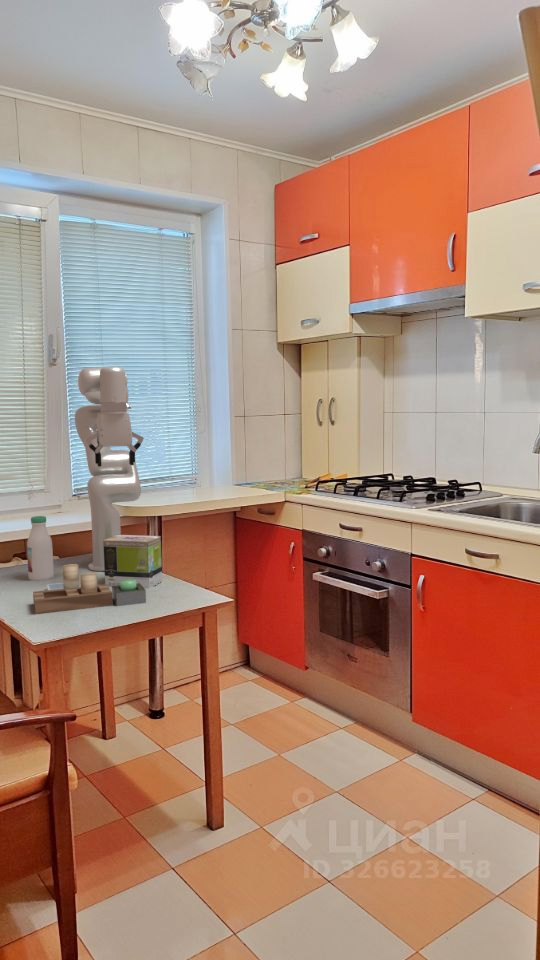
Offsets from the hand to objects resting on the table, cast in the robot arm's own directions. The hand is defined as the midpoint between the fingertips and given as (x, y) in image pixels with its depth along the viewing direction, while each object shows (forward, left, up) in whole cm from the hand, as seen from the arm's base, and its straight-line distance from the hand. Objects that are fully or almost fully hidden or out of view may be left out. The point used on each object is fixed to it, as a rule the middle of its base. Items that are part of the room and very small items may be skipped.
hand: (115, 465), depth 212 cm
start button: (+21, -1, -34) cm, 40 cm away
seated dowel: (+19, -11, -36) cm, 43 cm away
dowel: (+6, -15, -36) cm, 40 cm away
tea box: (+2, +4, -37) cm, 37 cm away
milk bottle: (-17, -22, -37) cm, 46 cm away
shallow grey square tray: (+6, -15, -37) cm, 40 cm away
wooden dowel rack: (+19, -16, -37) cm, 44 cm away
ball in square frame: (+21, -1, -37) cm, 42 cm away
